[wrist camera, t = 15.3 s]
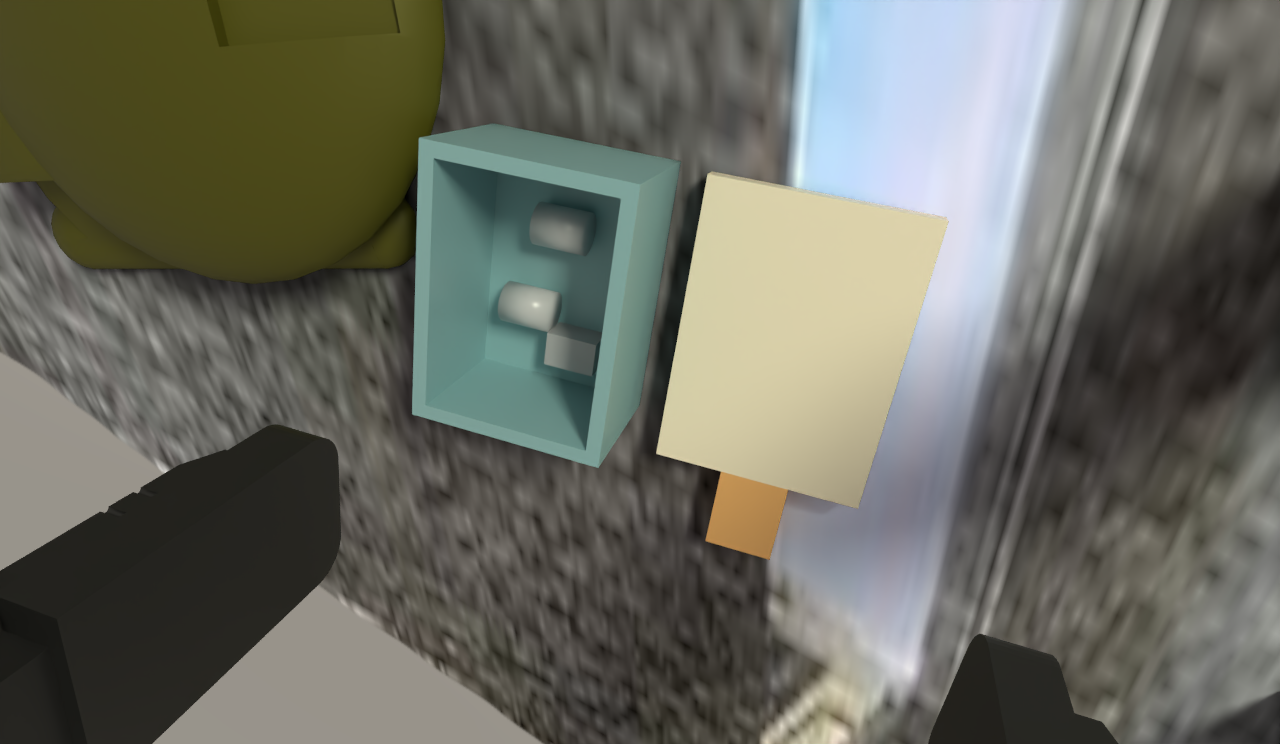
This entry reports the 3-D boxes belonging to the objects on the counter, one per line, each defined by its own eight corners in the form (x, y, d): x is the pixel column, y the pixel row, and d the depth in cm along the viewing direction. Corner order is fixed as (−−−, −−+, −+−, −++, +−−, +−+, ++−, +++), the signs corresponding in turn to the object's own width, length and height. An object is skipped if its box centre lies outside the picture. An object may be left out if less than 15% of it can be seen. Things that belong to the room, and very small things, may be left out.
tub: (680, 161, 41) (640, 184, 34) (639, 405, 47) (598, 467, 40) (493, 123, 43) (418, 137, 36) (478, 361, 49) (412, 414, 42)
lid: (943, 213, 39) (948, 221, 36) (836, 556, 47) (835, 579, 45) (715, 169, 41) (707, 174, 39) (653, 503, 49) (643, 523, 47)
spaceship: (87, 264, 56) (-57, 303, 47) (-92, -248, 45) (-326, -321, 36) (521, 263, 46) (440, 312, 37) (434, -394, 35) (289, -542, 26)
